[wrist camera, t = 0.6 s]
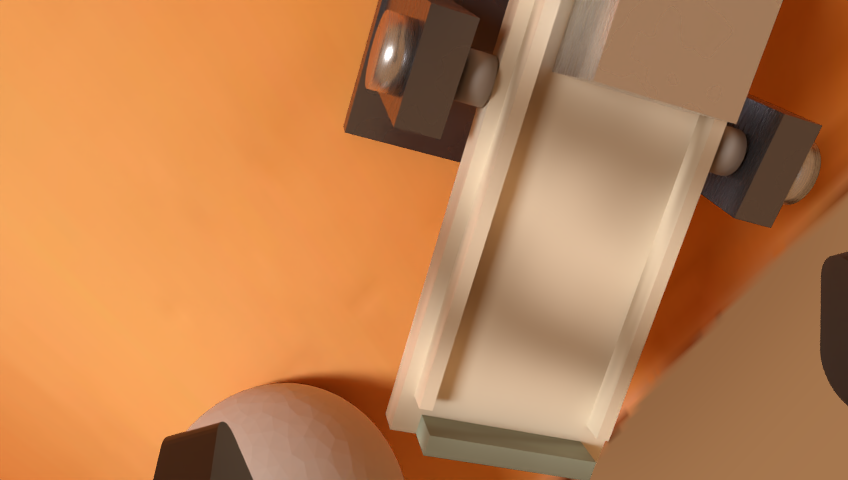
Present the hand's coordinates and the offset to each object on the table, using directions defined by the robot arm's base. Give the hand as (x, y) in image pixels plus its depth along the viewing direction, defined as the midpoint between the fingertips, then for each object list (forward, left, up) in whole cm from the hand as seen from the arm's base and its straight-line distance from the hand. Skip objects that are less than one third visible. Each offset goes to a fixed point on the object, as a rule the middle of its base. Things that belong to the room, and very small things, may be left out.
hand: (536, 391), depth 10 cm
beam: (-1, +8, -17) cm, 19 cm away
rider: (-6, +8, -17) cm, 20 cm away
